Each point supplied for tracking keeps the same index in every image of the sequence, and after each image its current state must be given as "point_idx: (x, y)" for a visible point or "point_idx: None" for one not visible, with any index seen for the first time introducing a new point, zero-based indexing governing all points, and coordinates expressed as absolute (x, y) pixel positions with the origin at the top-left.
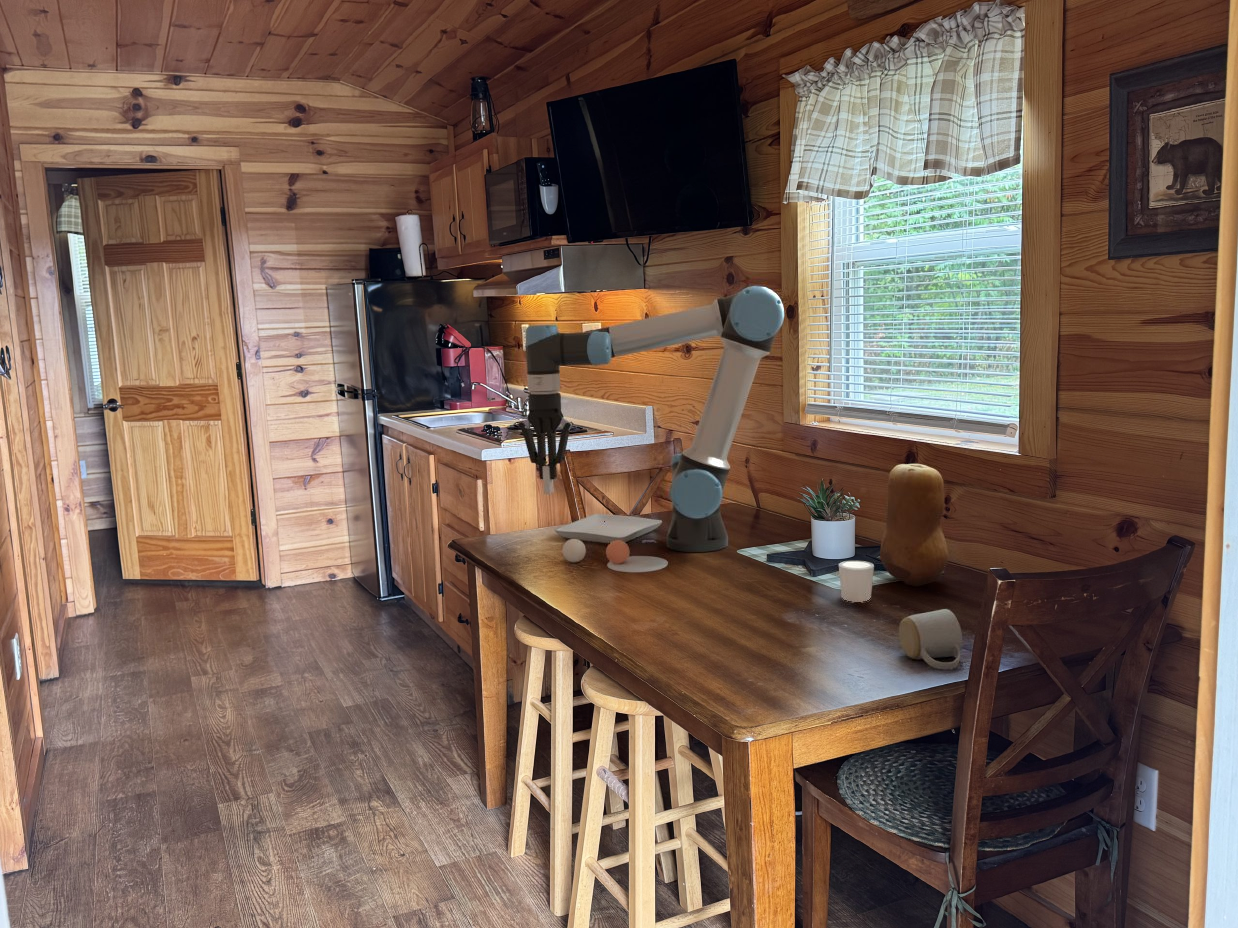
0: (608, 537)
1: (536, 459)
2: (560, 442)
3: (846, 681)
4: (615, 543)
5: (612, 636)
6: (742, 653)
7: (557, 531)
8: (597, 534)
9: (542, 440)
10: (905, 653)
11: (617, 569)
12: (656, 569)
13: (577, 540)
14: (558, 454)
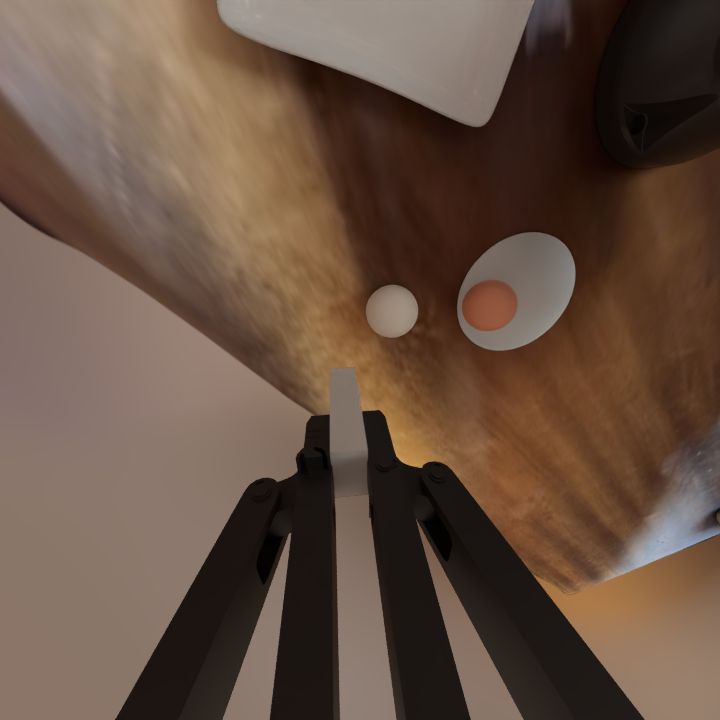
0: (440, 111)
1: (288, 527)
2: (509, 667)
3: (649, 548)
4: (496, 326)
5: None
6: (596, 533)
7: (239, 34)
8: (404, 95)
9: (339, 713)
10: (717, 515)
11: (480, 343)
12: (549, 328)
13: (406, 322)
14: (448, 555)
